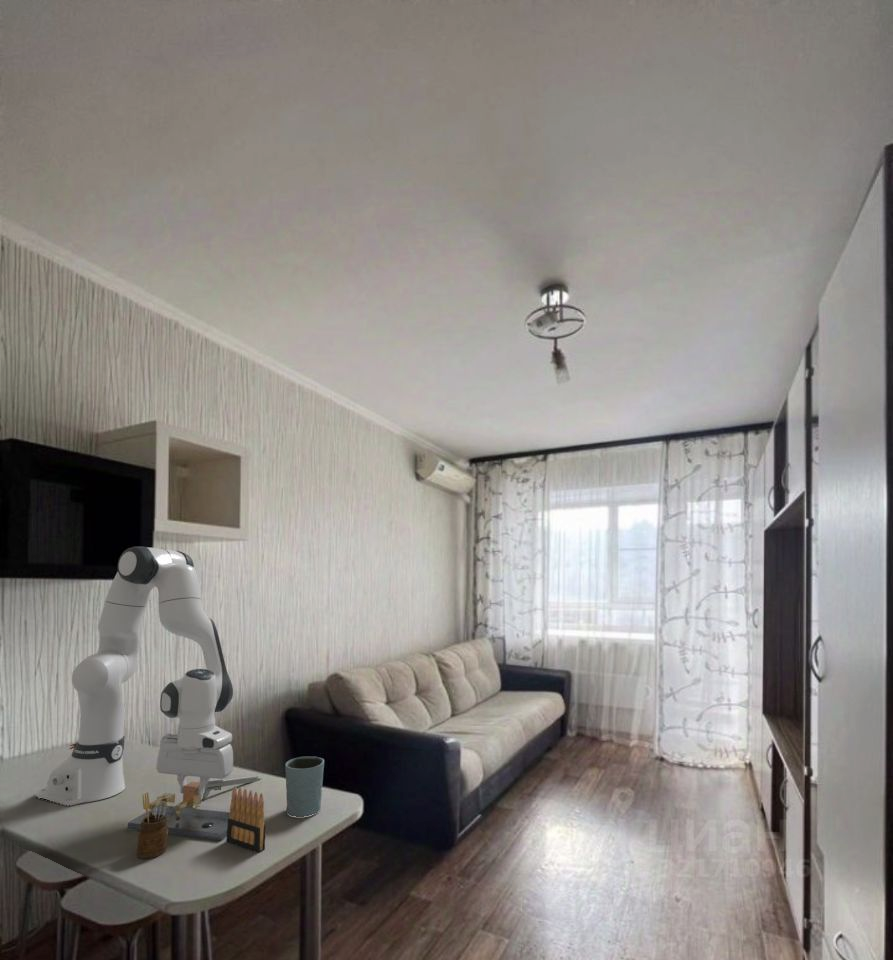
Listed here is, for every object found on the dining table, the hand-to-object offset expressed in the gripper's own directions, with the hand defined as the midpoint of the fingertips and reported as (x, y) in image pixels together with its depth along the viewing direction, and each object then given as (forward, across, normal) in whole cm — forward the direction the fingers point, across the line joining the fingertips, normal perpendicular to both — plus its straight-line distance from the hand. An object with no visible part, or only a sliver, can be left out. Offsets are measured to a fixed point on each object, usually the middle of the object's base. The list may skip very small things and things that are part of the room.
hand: (192, 793), depth 141 cm
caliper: (+7, -2, +19) cm, 20 cm away
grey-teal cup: (+6, +25, +11) cm, 28 cm away
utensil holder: (+6, +2, -16) cm, 18 cm away
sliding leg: (+4, 0, -2) cm, 5 cm away
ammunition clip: (+6, +21, -9) cm, 24 cm away
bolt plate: (+6, +1, -3) cm, 7 cm away
